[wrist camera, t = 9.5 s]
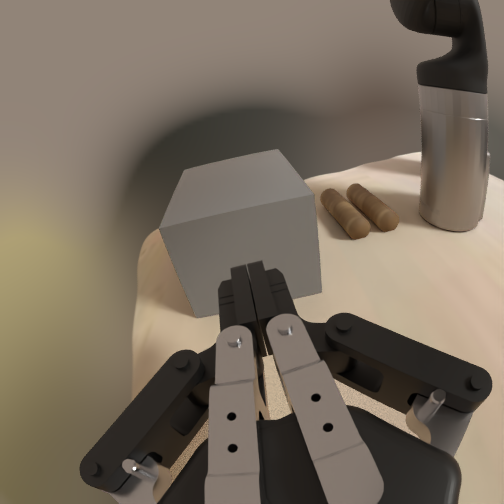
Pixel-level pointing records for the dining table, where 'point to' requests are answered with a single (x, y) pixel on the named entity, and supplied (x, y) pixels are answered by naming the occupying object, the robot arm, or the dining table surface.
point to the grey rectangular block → (242, 226)
